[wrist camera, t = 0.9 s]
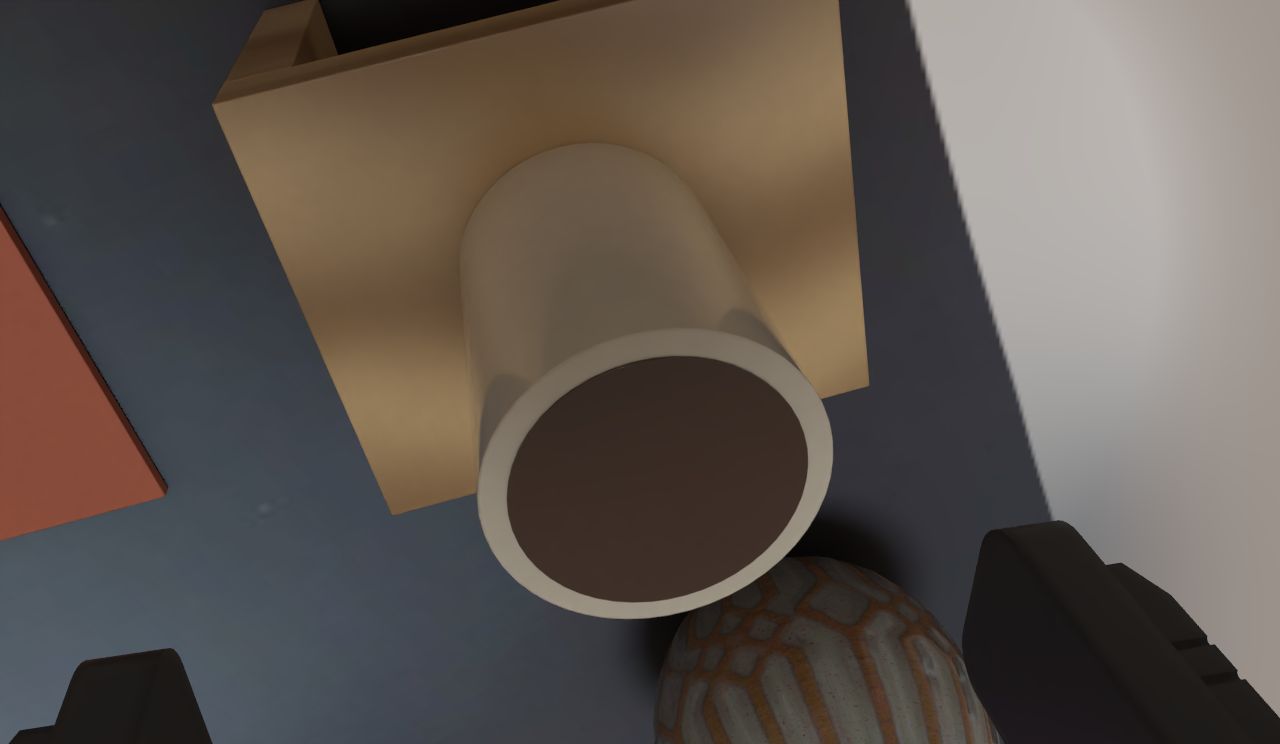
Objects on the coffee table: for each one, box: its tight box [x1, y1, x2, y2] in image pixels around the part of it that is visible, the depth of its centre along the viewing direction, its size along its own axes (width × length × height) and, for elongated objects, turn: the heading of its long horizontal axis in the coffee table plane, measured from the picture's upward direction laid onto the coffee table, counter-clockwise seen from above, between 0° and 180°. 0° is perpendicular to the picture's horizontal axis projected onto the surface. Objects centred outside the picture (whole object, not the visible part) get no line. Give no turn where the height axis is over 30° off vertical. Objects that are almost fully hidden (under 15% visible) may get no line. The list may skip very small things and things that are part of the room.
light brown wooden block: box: [212, 0, 869, 515], centre depth 29 cm, size 12×14×9 cm
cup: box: [458, 143, 833, 619], centre depth 22 cm, size 6×6×9 cm
